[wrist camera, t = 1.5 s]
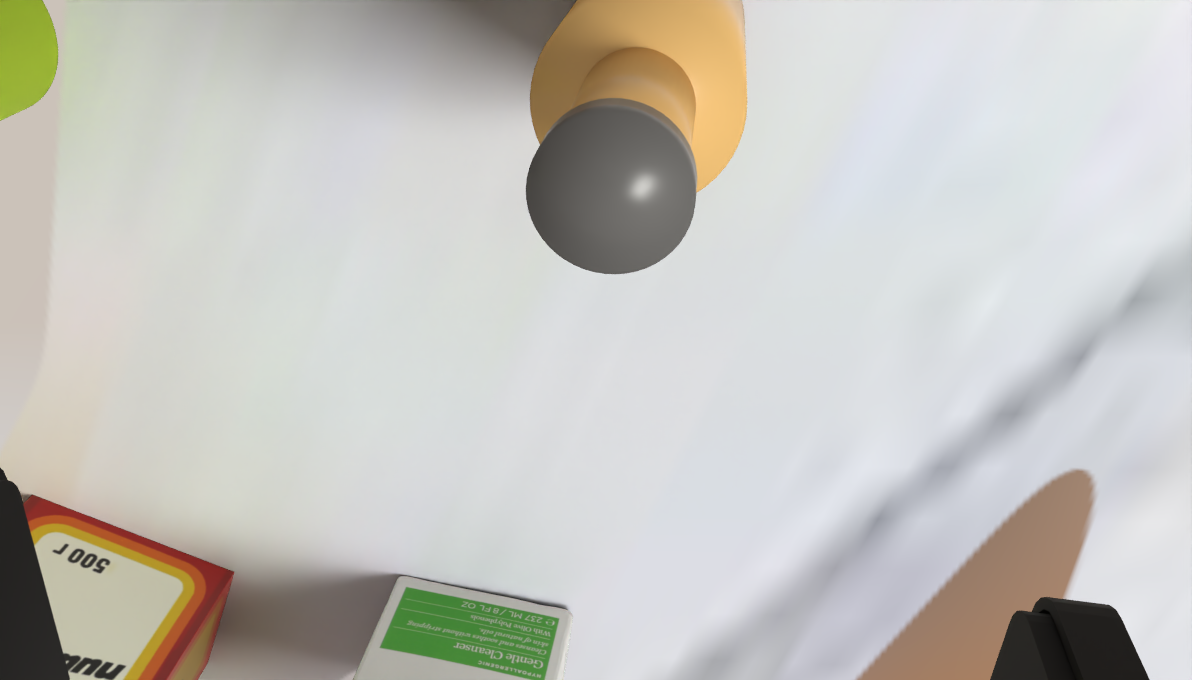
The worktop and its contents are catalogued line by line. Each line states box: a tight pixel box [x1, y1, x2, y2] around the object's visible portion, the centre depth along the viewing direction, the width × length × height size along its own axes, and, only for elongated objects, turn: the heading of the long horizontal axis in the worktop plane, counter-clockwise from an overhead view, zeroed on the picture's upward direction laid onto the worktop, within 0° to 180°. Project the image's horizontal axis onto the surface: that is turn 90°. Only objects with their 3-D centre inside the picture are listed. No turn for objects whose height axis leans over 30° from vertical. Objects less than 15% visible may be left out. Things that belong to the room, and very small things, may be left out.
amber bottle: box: [526, 0, 747, 274], centre depth 26 cm, size 5×5×15 cm
